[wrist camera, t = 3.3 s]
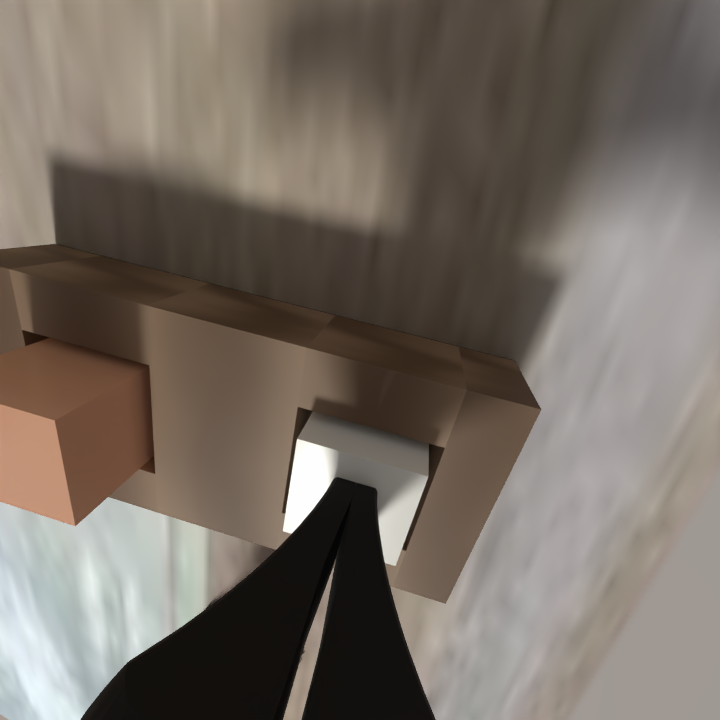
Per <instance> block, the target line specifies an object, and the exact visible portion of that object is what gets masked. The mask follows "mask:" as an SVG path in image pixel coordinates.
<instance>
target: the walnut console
mask: <svg viewBox="0 0 720 720" xmlns="http://www.w3.org/2000/svg"><path fill="white" fill-rule="evenodd" d="M48 338H53V339H57V340H60V341H64V342H68V343H71V344H75V345H78V346H82V347H86V348H89V349H93V350H96V351H100V352H103V353H107V354H111V355H114V356H118V357H121V358H125V359H128V360H132V361H136V362H139V363H143V364H146V365H149V367H150V385H151V403H152V422H153V440H154V456H153V457H152V458H151V459H150V460H149V461H148V462H146V463H145V464H144V465H143V466H142V467H141V468H140V469H139V470H137V471H136V472H135V473H134V474H133V475H132V476H131V477H130V478H129V479H127V480H126V481H125V482H124V483H123V484H122V485H121V486H120V487H118V488H117V489H116V490H115V491H114V492H113V493H112V494H111V495H110V496H108V497H110V498H114V499H117V500H120V501H123V502H126V503H129V504H133V505H136V506H139V507H142V508H145V509H148V510H152V511H155V512H158V513H161V514H164V515H167V516H170V517H174V518H177V519H180V520H183V521H186V522H189V523H193V524H196V525H199V526H202V527H205V528H208V529H212V530H215V531H218V532H221V533H224V534H227V535H230V536H234V537H237V538H240V539H243V540H246V541H249V542H253V543H256V544H259V545H262V546H265V547H268V548H271V549H275V550H276V549H277V548H278V547H279V546H280V545H281V544H282V543H283V542H284V541H285V540H286V539H287V538H288V537H289V536H290V535H291V533H287V532H284V531H283V526H284V520H285V513H286V507H287V500H288V494H289V487H290V481H291V475H292V468H293V462H294V455H295V449H296V442H297V438H298V436H299V435H300V433H301V431H302V429H303V428H304V426H305V424H306V423H307V421H308V419H309V417H310V416H311V414H312V412H313V411H315V412H318V413H322V414H325V415H329V416H333V417H336V418H340V419H343V420H347V421H350V422H354V423H358V424H361V425H365V426H368V427H372V428H376V429H379V430H383V431H386V432H390V433H393V434H397V435H401V436H404V437H408V438H411V439H415V440H418V441H422V442H426V443H429V476H428V479H427V482H426V485H425V487H424V490H423V493H422V496H421V498H420V501H419V504H418V506H417V509H416V512H415V515H414V517H413V520H412V523H411V525H410V528H409V531H408V534H407V536H406V539H405V542H404V544H403V547H402V550H401V553H400V555H399V558H398V561H397V563H396V566H393V565H390V564H387V563H385V566H386V571H387V575H388V580H389V584H390V586H391V587H395V588H398V589H401V590H404V591H407V592H410V593H414V594H417V595H420V596H423V597H426V598H429V599H433V600H436V601H439V602H442V603H445V604H446V602H447V600H448V598H449V596H450V594H451V592H452V590H453V588H454V586H455V584H456V582H457V579H458V577H459V575H460V573H461V571H462V569H463V567H464V565H465V563H466V561H467V559H468V557H469V555H470V553H471V551H472V549H473V547H474V545H475V543H476V541H477V539H478V537H479V535H480V533H481V531H482V529H483V527H484V525H485V523H486V521H487V519H488V517H489V515H490V513H491V510H492V508H493V506H494V504H495V502H496V500H497V498H498V496H499V494H500V492H501V490H502V488H503V486H504V484H505V482H506V480H507V478H508V476H509V474H510V472H511V470H512V468H513V466H514V464H515V462H516V460H517V458H518V456H519V454H520V452H521V450H522V448H523V446H524V443H525V441H526V439H527V437H528V435H529V433H530V431H531V429H532V427H533V425H534V423H535V421H536V419H537V417H538V415H539V413H540V411H541V408H540V407H539V405H538V403H537V401H536V399H535V397H534V395H533V394H532V392H531V390H530V388H529V386H528V384H527V383H526V381H525V379H524V377H523V375H522V373H521V371H520V370H519V368H518V366H517V364H516V362H515V361H513V360H509V359H505V358H501V357H497V356H493V355H489V354H485V353H481V352H477V351H474V350H470V349H466V348H462V347H458V346H454V345H450V344H446V343H442V342H438V341H434V340H430V339H426V338H422V337H418V336H414V335H411V334H407V333H403V332H399V331H395V330H391V329H387V328H383V327H379V326H375V325H371V324H367V323H363V322H359V321H355V320H352V319H348V318H344V317H340V316H336V315H332V314H328V313H324V312H320V311H316V310H312V309H308V308H304V307H300V306H296V305H292V304H289V303H285V302H281V301H277V300H273V299H269V298H265V297H261V296H257V295H253V294H249V293H245V292H241V291H237V290H233V289H230V288H226V287H222V286H218V285H214V284H210V283H206V282H202V281H198V280H194V279H190V278H186V277H182V276H178V275H174V274H170V273H167V272H163V271H159V270H155V269H151V268H147V267H143V266H139V265H135V264H131V263H127V262H123V261H119V260H115V259H111V258H108V257H104V256H100V255H96V254H92V253H88V252H84V251H80V250H76V249H72V248H68V247H64V246H60V245H56V244H50V245H40V246H30V247H20V248H9V249H0V355H1V354H4V353H7V352H10V351H13V350H16V349H19V348H22V347H25V346H28V345H31V344H33V343H36V342H39V341H42V340H45V339H48ZM337 554H338V553H337ZM335 562H336V560H335ZM333 568H335V563H334V566H333Z"/></svg>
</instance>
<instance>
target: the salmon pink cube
mask: <svg viewBox="0 0 720 720" xmlns="http://www.w3.org/2000/svg"><path fill="white" fill-rule="evenodd" d="M153 456H154V440H153V422H152V403H151V385H150V367H149V365H146V364H143V363H139V362H136V361H132V360H128V359H125V358H121V357H118V356H114V355H111V354H107V353H103V352H100V351H96V350H93V349H89V348H86V347H82V346H78V345H75V344H71V343H68V342H64V341H60V340H57V339H53V338H48V339H45V340H42V341H39V342H36V343H33V344H31V345H28V346H25V347H22V348H19V349H16V350H13V351H10V352H7V353H4V354H1V355H0V502H3V503H6V504H9V505H12V506H15V507H18V508H21V509H25V510H28V511H31V512H34V513H37V514H40V515H43V516H46V517H49V518H52V519H55V520H58V521H61V522H64V523H67V524H70V525H73V526H76V525H77V524H78V523H79V522H80V521H82V520H83V519H84V518H85V517H86V516H87V515H88V514H89V513H91V512H92V511H93V510H94V509H95V508H96V507H97V506H98V505H99V504H101V503H102V502H103V501H104V500H105V499H106V498H107V497H108V496H110V495H111V494H112V493H113V492H114V491H115V490H116V489H117V488H118V487H120V486H121V485H122V484H123V483H124V482H125V481H126V480H127V479H129V478H130V477H131V476H132V475H133V474H134V473H135V472H136V471H137V470H139V469H140V468H141V467H142V466H143V465H144V464H145V463H146V462H148V461H149V460H150V459H151V458H152V457H153Z"/></svg>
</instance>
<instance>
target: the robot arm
mask: <svg viewBox="0 0 720 720" xmlns="http://www.w3.org/2000/svg"><path fill="white" fill-rule="evenodd" d="M377 494H378V492H377V490H376V488H374V487H370V486H367V485H363V484H360V483H356V482H353V481H350V480H346V479H343V478H339V477H336V478H334V479H333V481H332V482H331V484H330V486H329V487H328V489H327V491H326V492H325V494H324V495H323V496H322V498H321V499H320V500H319V502H318V503H317V504H316V506H315V507H314V508H313V510H312V511H311V512H310V513H309V514H308V516H307V517H306V518H305V519H304V520H303V522H302V523H301V524H300V525H299V526H298V527H297V528H296V530H295V531H294V532H293V533H292V534H291V535H290V536H289V537H288V538H287V539H286V540H285V541H284V542H283V543H282V544H281V545H280V546H279V547H278V548H277V549H276V550H275V551H274V552H273V553H272V554H271V555H270V556H269V557H268V558H267V559H266V560H265V561H264V562H263V563H262V564H261V565H260V566H258V567H257V568H256V569H255V570H254V571H253V572H252V573H251V574H249V575H248V576H247V577H246V578H245V579H244V580H242V581H241V582H240V583H239V584H238V585H236V586H235V587H234V588H233V589H232V590H230V591H229V592H228V593H227V594H225V595H224V596H223V597H222V598H220V599H219V600H218V601H216V602H215V603H214V604H212V605H211V606H210V607H208V608H207V609H206V610H204V611H203V612H201V613H200V614H199V615H197V616H196V617H195V618H193V619H192V620H191V621H189V622H188V623H186V624H185V625H184V626H182V627H181V628H179V629H178V630H176V631H175V632H173V633H172V634H170V635H169V636H167V637H166V638H164V639H163V640H161V641H159V642H158V643H156V644H155V645H153V646H152V647H150V648H149V649H147V650H146V651H144V652H142V653H141V654H139V655H138V656H136V657H135V658H133V659H132V660H130V661H129V662H128V663H127V664H126V665H125V666H124V667H123V668H122V669H121V670H120V671H119V672H118V673H117V675H116V676H115V677H114V678H113V679H112V680H111V681H110V682H109V684H108V685H107V686H106V687H105V688H104V690H103V691H102V692H101V693H100V694H99V696H98V697H97V698H96V699H95V701H94V702H93V703H92V704H91V706H90V707H89V708H88V710H87V711H86V712H85V714H84V715H83V717H82V718H81V720H283V717H284V714H285V710H286V707H287V703H288V700H289V696H290V693H291V689H292V686H293V683H294V679H295V676H296V672H297V669H298V665H299V662H300V658H301V655H302V651H303V648H304V645H305V642H306V639H307V636H308V633H309V631H310V628H311V625H312V623H313V620H314V617H315V614H316V612H317V609H318V606H319V604H320V601H321V598H322V596H323V593H324V590H325V587H326V585H327V582H328V579H329V577H330V574H331V571H332V568H333V566H334V563H335V568H334V573H333V579H332V584H331V590H330V595H329V601H328V606H327V612H326V617H325V623H324V628H323V634H322V639H321V644H320V648H319V653H318V658H317V662H316V666H315V669H314V673H313V677H312V681H311V685H310V689H309V693H308V697H307V701H306V704H305V708H304V712H303V716H302V720H436V719H435V717H434V714H433V712H432V710H431V707H430V705H429V702H428V700H427V697H426V695H425V693H424V690H423V687H422V685H421V682H420V679H419V676H418V674H417V671H416V668H415V666H414V663H413V660H412V657H411V655H410V652H409V649H408V646H407V643H406V640H405V637H404V634H403V631H402V628H401V624H400V621H399V618H398V614H397V611H396V607H395V604H394V600H393V596H392V592H391V588H390V584H389V580H388V575H387V571H386V566H385V561H384V556H383V550H382V544H381V538H380V531H379V521H378V509H377ZM337 553H338V554H337ZM335 560H336V562H335Z"/></svg>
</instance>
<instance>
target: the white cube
mask: <svg viewBox="0 0 720 720" xmlns="http://www.w3.org/2000/svg"><path fill="white" fill-rule="evenodd" d="M428 476H429V443H426V442H422V441H418V440H415V439H411V438H408V437H404V436H401V435H397V434H393V433H390V432H386V431H383V430H379V429H376V428H372V427H368V426H365V425H361V424H358V423H354V422H350V421H347V420H343V419H340V418H336V417H333V416H329V415H325V414H322V413H318V412H315V411H313V412H312V414H311V416H310V417H309V419H308V421H307V423H306V424H305V426H304V428H303V429H302V431H301V433H300V435H299V436H298V438H297V442H296V449H295V455H294V462H293V468H292V475H291V481H290V487H289V494H288V500H287V507H286V513H285V520H284V526H283V531H284V532H287V533H291V534H292V533H293V532H294V531H295V530H296V528H297V527H298V526H299V525H300V524H301V523H302V522H303V520H304V519H305V518H306V517H307V516H308V514H309V513H310V512H311V511H312V510H313V508H314V507H315V506H316V504H317V503H318V502H319V500H320V499H321V498H322V496H323V495H324V494H325V492H326V491H327V489H328V487H329V486H330V484H331V482H332V481H333V479H334V478H336V477H339V478H343V479H346V480H350V481H353V482H356V483H360V484H363V485H367V486H370V487H374V488H376V490H377V492H378V494H377V509H378V521H379V531H380V538H381V544H382V550H383V556H384V561H385V563H387V564H390V565H393V566H396V563H397V561H398V558H399V555H400V553H401V550H402V547H403V544H404V542H405V539H406V536H407V534H408V531H409V528H410V525H411V523H412V520H413V517H414V515H415V512H416V509H417V506H418V504H419V501H420V498H421V496H422V493H423V490H424V487H425V485H426V482H427V479H428Z"/></svg>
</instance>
